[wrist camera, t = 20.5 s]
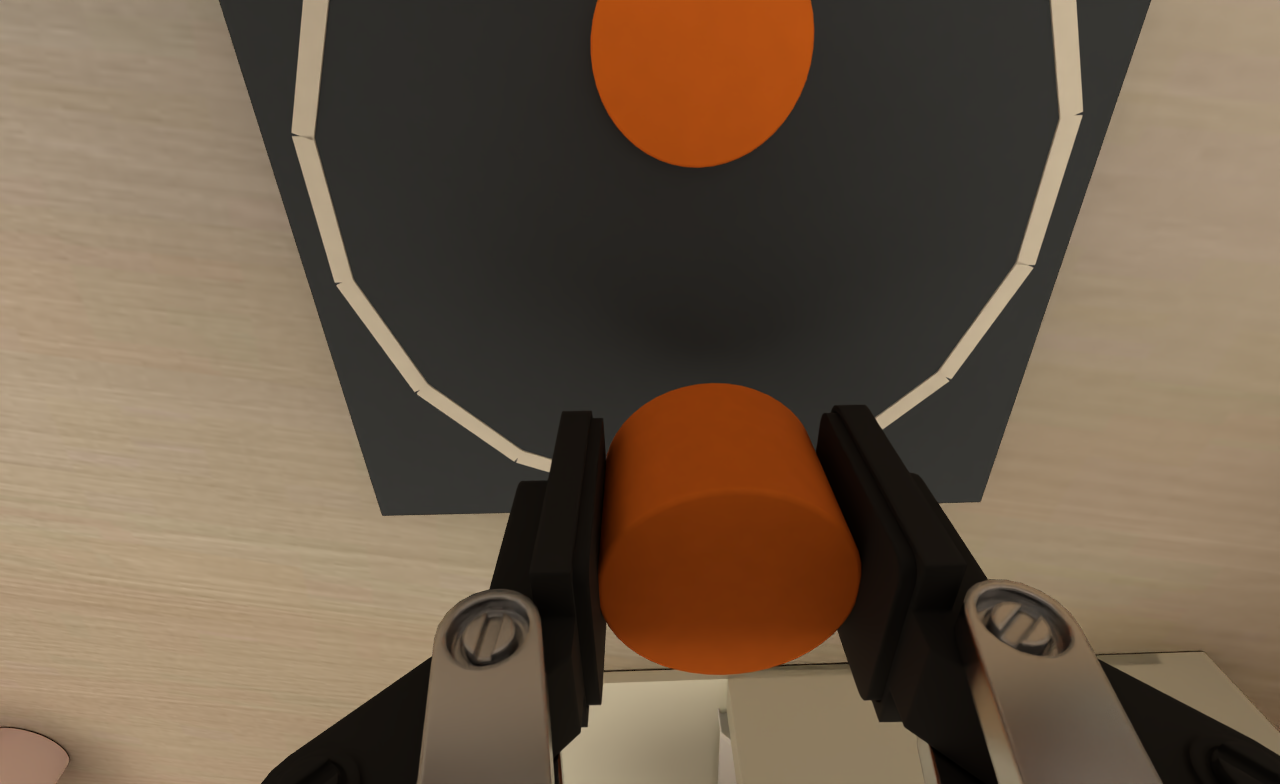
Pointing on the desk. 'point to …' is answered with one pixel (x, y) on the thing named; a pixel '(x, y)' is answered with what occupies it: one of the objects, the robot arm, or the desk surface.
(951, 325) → the mat
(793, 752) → the staircase
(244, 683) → the desk surface
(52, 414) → the desk surface
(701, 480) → the orange round drum
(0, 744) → the smoothie
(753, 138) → the orange cylinder puck
